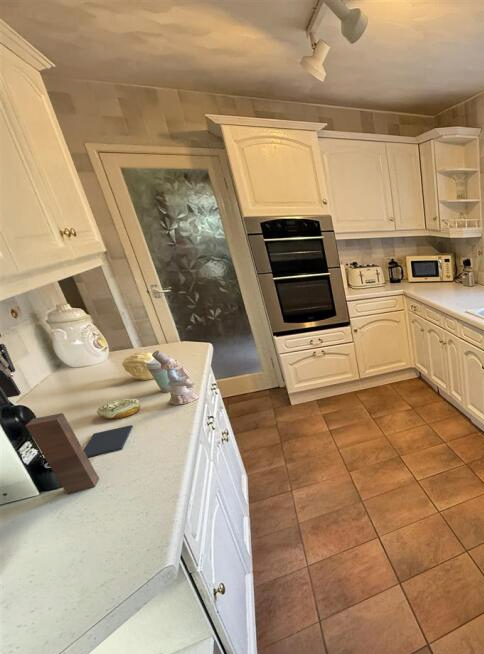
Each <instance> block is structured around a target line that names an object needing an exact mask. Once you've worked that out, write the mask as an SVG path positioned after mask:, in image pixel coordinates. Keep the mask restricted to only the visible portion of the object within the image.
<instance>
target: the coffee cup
mask: <svg viewBox="0 0 484 654" xmlns="http://www.w3.org/2000/svg"><path fill="white" fill-rule="evenodd" d="M173 360H175V359H174V358H173ZM146 368H147V369H149V371H150V373H151V374H152V376H153V379H154V381H155V383H156V384H157V387H158V388H159V389H160V391H161V392H162V393H170V390H172V388H171V387H170V386H169V385H168V382H169V379H168V376H167V370H164V369H162V368H161V363H159V362H158V361H157V360H156V359H151V360H149V361H147V362H146ZM176 370H178V368H176Z"/></svg>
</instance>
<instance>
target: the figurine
mask: <svg viewBox="0 0 484 654" xmlns="http://www.w3.org/2000/svg"><path fill="white" fill-rule="evenodd" d="M152 353H153V354H152V356H153V357H154V358H155V359H156V360H157V361H158V362H159V363H161V368H162V369H164V370H167V376H168V379H169V382H168V385H169V386H170V387H171V388H172V390H170V392H169V394H170V398H169V401H168V404H171V405H175V406H177V405H179V406H180V405H186V404H189V403H192V402H194V401H196V400H197V399H199V395H198V394H197V393H196V392H194V391H192V390H191V389H193V388H194V385H196V382H194V381H190V379H191V378H192V377H191V374H190V372H189V370H187V368H186V367H184V366H182V367H180V368H177V367H179V366H180V365H181V364H180V362H179V361H178V359H174V357H172V356H168V355H167V354H165V353H164V352H162V351H160V350H155V351H154V352H152ZM173 359H174V360H173ZM176 369H177V370H176Z"/></svg>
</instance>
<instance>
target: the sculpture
mask: <svg viewBox="0 0 484 654" xmlns="http://www.w3.org/2000/svg"><path fill="white" fill-rule="evenodd" d="M153 353H154V352H149V351H147V352H134V354H131V355H130V356H127V357H125V358H124V359H123V361H122V363H121V365H122V367H123V369H124V371H126V372H127V373H129V374H130V376H132V377H133V378H135V379H137V380H141V381H146V380H147V381H149V380H152V379H154V378H153V376H152V374H151V373H150V371H149V369H147V368H146V362H147V361H149V360H151V359H155V358H154V357H153V356H152V354H153Z"/></svg>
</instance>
